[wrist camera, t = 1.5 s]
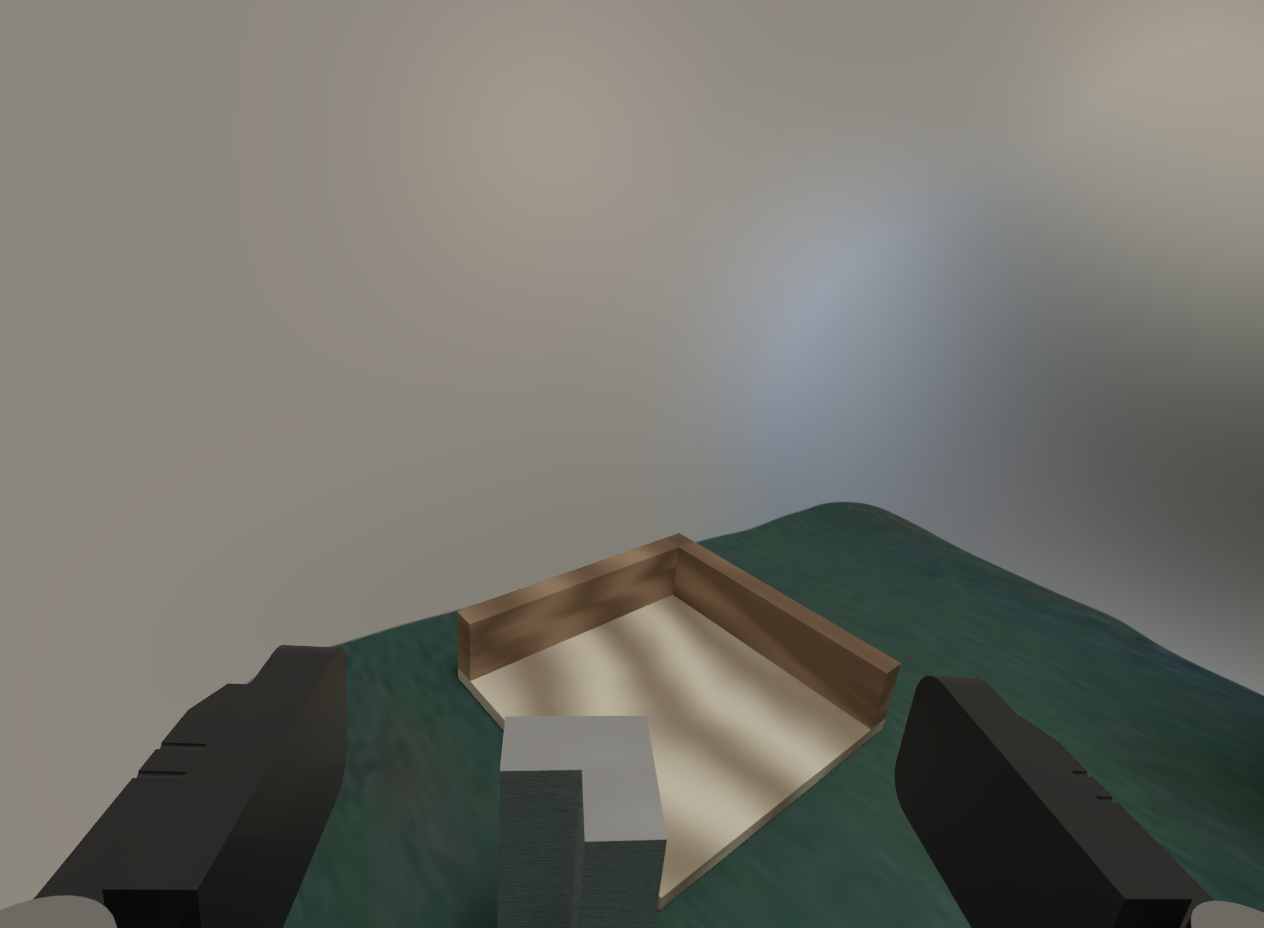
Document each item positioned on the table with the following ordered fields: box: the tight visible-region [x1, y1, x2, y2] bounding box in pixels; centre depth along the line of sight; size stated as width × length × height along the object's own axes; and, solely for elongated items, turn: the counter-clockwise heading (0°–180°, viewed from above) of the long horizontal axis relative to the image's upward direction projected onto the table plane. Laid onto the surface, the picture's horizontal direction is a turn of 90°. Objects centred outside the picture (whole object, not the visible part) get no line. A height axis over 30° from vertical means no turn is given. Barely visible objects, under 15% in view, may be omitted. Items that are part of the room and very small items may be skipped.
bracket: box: [498, 716, 667, 928], centre depth 24 cm, size 5×5×11 cm
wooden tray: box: [457, 533, 901, 911], centre depth 40 cm, size 18×18×5 cm
